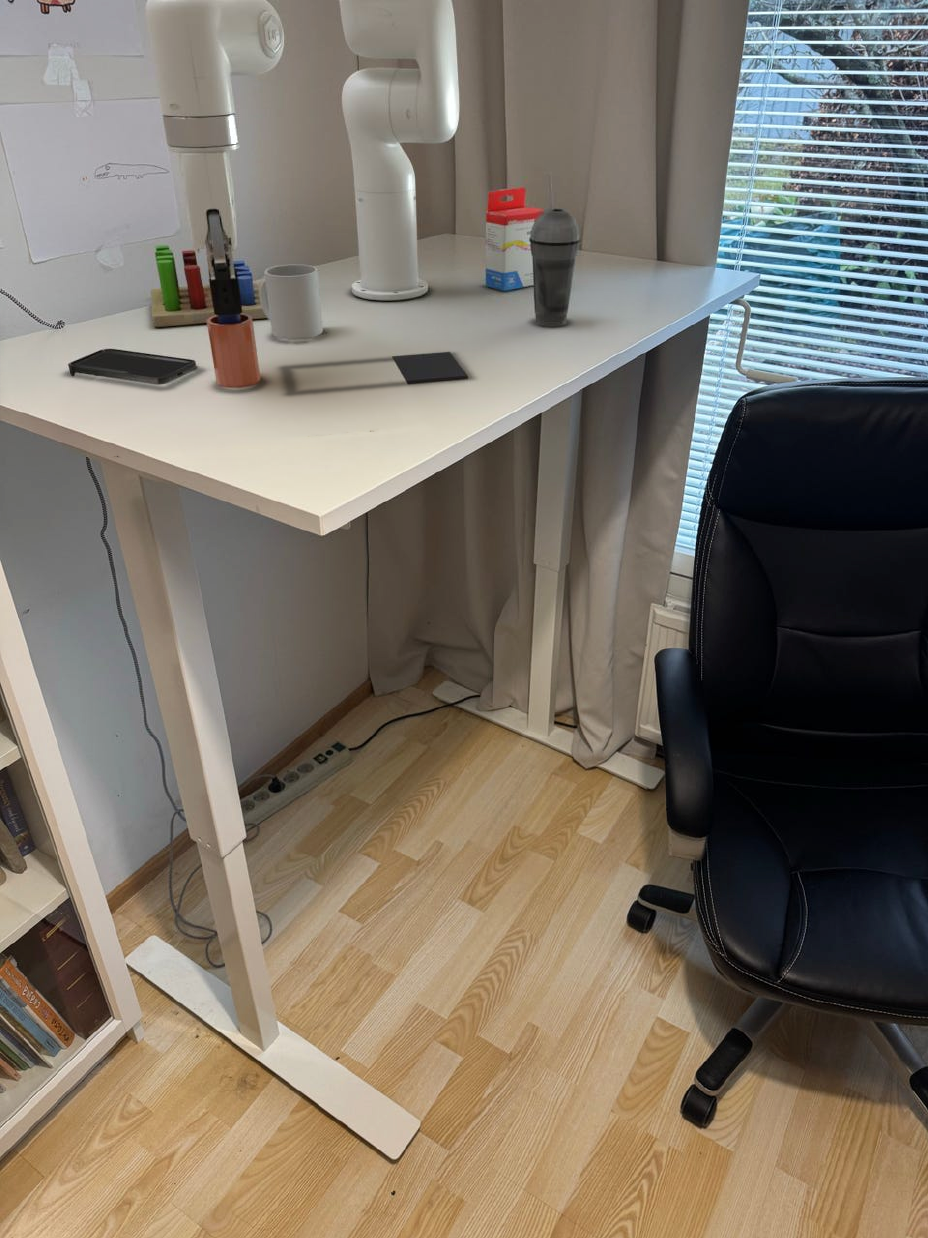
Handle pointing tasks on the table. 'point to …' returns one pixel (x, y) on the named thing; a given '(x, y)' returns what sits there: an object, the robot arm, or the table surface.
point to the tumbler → (234, 352)
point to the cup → (292, 301)
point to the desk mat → (429, 367)
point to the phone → (132, 366)
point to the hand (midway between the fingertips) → (228, 308)
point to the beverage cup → (553, 263)
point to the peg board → (195, 292)
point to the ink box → (509, 240)
